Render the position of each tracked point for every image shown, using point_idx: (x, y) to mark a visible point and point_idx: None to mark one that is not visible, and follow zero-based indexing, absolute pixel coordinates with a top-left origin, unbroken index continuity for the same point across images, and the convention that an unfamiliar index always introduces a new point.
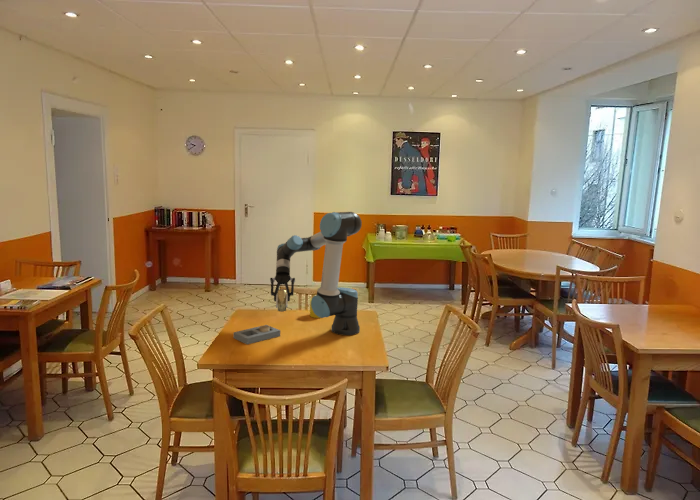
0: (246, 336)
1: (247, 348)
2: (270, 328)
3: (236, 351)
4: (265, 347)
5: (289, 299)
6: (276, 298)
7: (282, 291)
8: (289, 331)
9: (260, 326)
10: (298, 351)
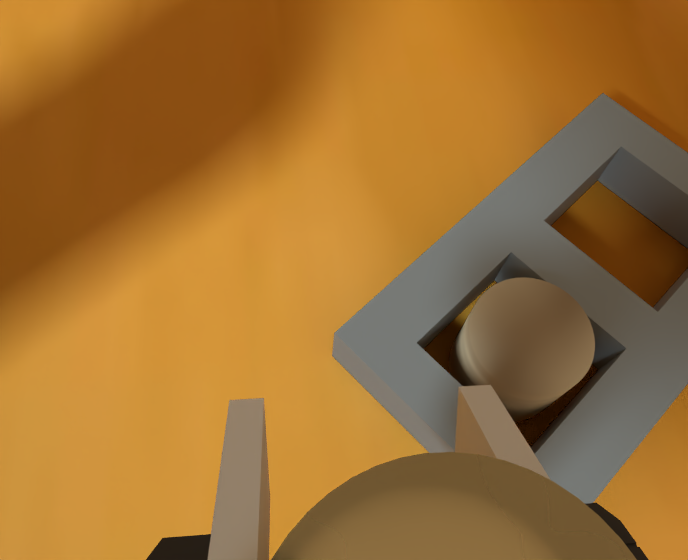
0: (629, 137)
1: (548, 60)
2: None
3: (604, 12)
4: (417, 82)
5: (155, 554)
6: None
7: (402, 464)
8: None
9: (586, 346)
10: (152, 23)
